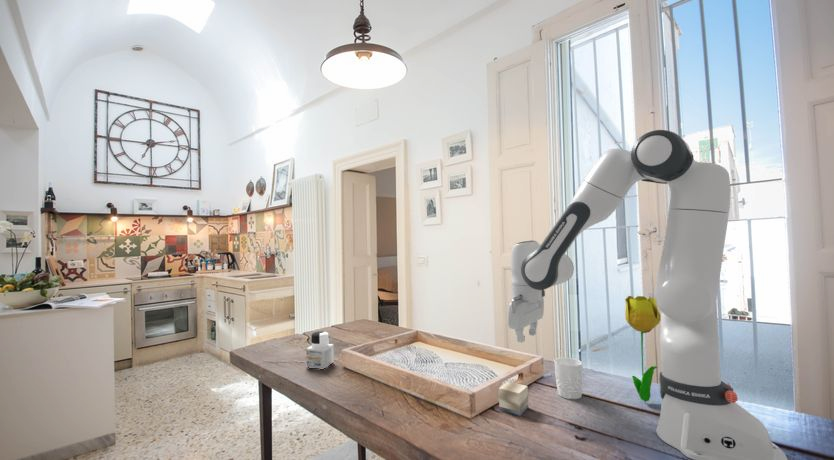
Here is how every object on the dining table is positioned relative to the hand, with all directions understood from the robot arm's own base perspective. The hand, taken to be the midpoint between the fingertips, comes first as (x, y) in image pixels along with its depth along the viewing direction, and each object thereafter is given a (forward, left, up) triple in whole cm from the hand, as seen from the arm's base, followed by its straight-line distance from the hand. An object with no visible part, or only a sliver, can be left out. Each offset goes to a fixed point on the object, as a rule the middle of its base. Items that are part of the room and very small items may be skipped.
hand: (527, 338), depth 112 cm
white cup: (-10, -6, -17) cm, 21 cm away
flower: (-29, -12, -17) cm, 36 cm away
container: (+76, +20, -17) cm, 80 cm away
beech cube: (0, +12, -17) cm, 21 cm away
